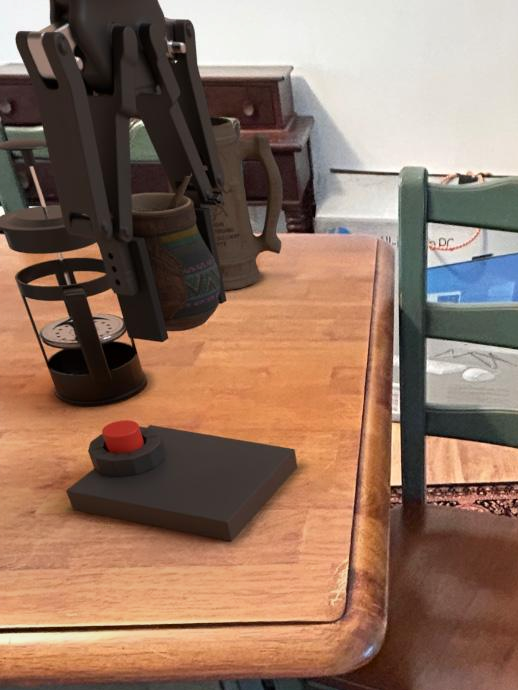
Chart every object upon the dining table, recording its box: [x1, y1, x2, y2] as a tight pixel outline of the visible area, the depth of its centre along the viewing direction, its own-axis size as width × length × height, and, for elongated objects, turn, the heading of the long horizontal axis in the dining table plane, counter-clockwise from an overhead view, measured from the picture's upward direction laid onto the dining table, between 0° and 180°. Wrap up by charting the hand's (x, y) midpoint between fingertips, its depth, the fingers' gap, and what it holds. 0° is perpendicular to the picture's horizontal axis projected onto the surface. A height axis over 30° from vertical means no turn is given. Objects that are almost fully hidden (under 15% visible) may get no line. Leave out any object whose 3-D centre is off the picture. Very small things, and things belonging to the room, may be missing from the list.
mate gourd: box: [109, 173, 220, 332], centre depth 51 cm, size 7×8×10 cm
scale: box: [65, 424, 298, 542], centre depth 64 cm, size 16×12×4 cm
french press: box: [0, 137, 148, 407], centre depth 72 cm, size 12×9×23 cm
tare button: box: [101, 419, 144, 454], centre depth 63 cm, size 3×3×2 cm
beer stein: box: [166, 116, 284, 291], centre depth 101 cm, size 15×11×20 cm
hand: (180, 317), depth 54 cm, fingers closed on mate gourd, 7 cm apart
